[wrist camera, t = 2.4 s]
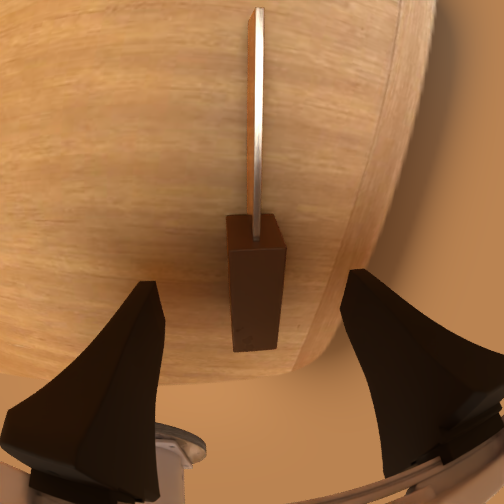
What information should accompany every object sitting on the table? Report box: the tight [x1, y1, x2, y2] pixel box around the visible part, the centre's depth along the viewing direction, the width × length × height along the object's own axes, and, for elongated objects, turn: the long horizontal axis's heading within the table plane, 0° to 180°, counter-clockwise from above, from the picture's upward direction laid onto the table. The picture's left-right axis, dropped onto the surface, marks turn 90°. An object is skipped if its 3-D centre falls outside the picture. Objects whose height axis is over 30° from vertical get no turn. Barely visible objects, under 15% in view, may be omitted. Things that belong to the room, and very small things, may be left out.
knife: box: [226, 7, 287, 352], centre depth 9 cm, size 12×2×2 cm, turn 179°
